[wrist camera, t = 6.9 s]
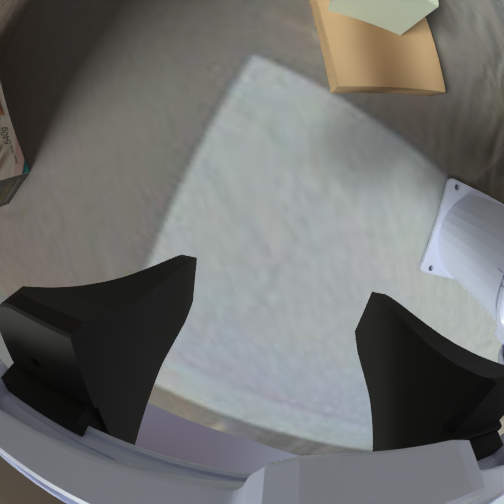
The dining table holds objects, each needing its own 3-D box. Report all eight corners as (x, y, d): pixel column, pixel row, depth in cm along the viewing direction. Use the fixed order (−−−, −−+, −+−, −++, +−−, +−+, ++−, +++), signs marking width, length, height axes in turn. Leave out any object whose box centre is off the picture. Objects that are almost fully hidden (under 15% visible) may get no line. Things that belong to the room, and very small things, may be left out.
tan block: (382, -39, 10) (392, -55, 8) (426, 96, 15) (445, 92, 13) (291, -45, 12) (292, -64, 9) (329, 94, 17) (338, 86, 14)
